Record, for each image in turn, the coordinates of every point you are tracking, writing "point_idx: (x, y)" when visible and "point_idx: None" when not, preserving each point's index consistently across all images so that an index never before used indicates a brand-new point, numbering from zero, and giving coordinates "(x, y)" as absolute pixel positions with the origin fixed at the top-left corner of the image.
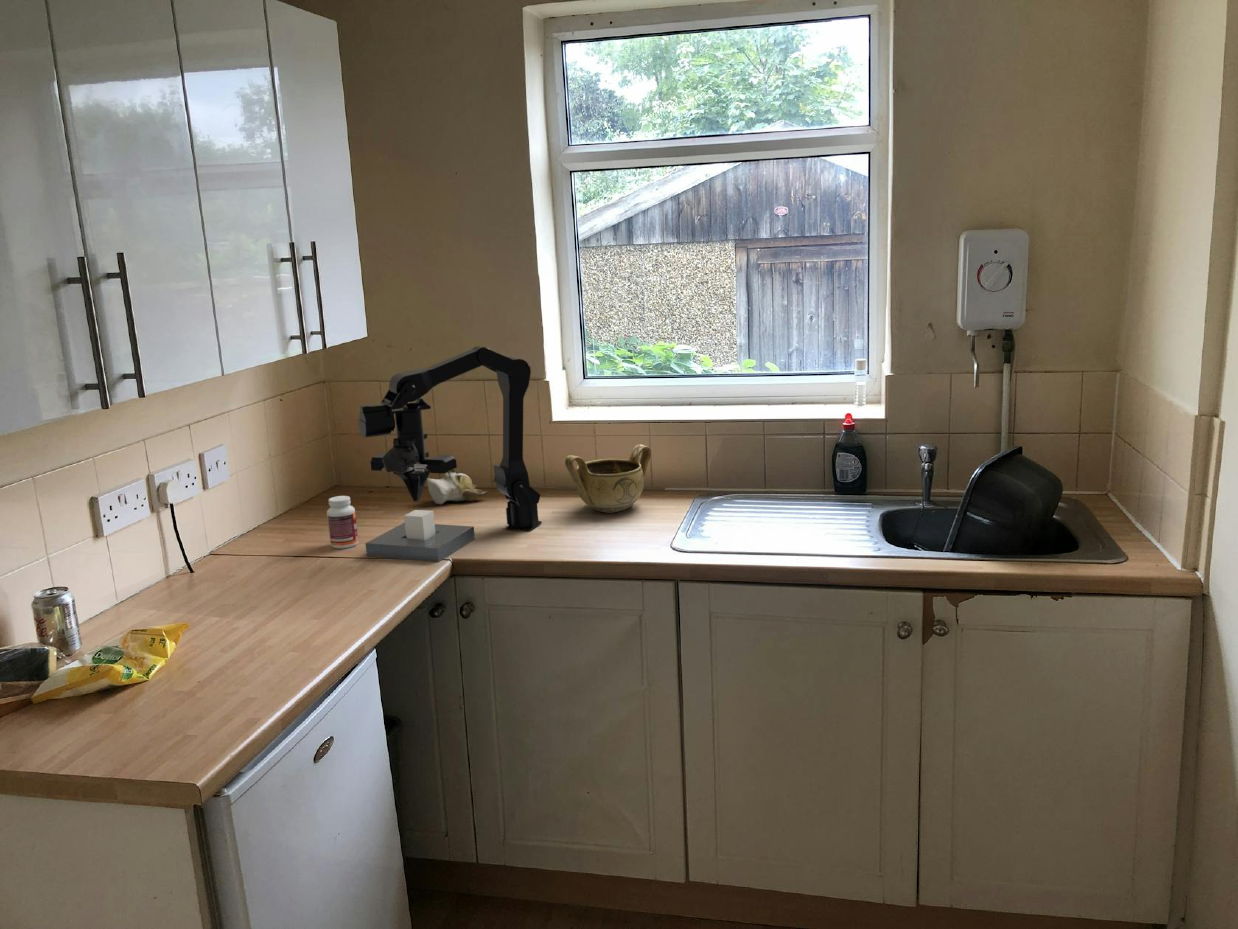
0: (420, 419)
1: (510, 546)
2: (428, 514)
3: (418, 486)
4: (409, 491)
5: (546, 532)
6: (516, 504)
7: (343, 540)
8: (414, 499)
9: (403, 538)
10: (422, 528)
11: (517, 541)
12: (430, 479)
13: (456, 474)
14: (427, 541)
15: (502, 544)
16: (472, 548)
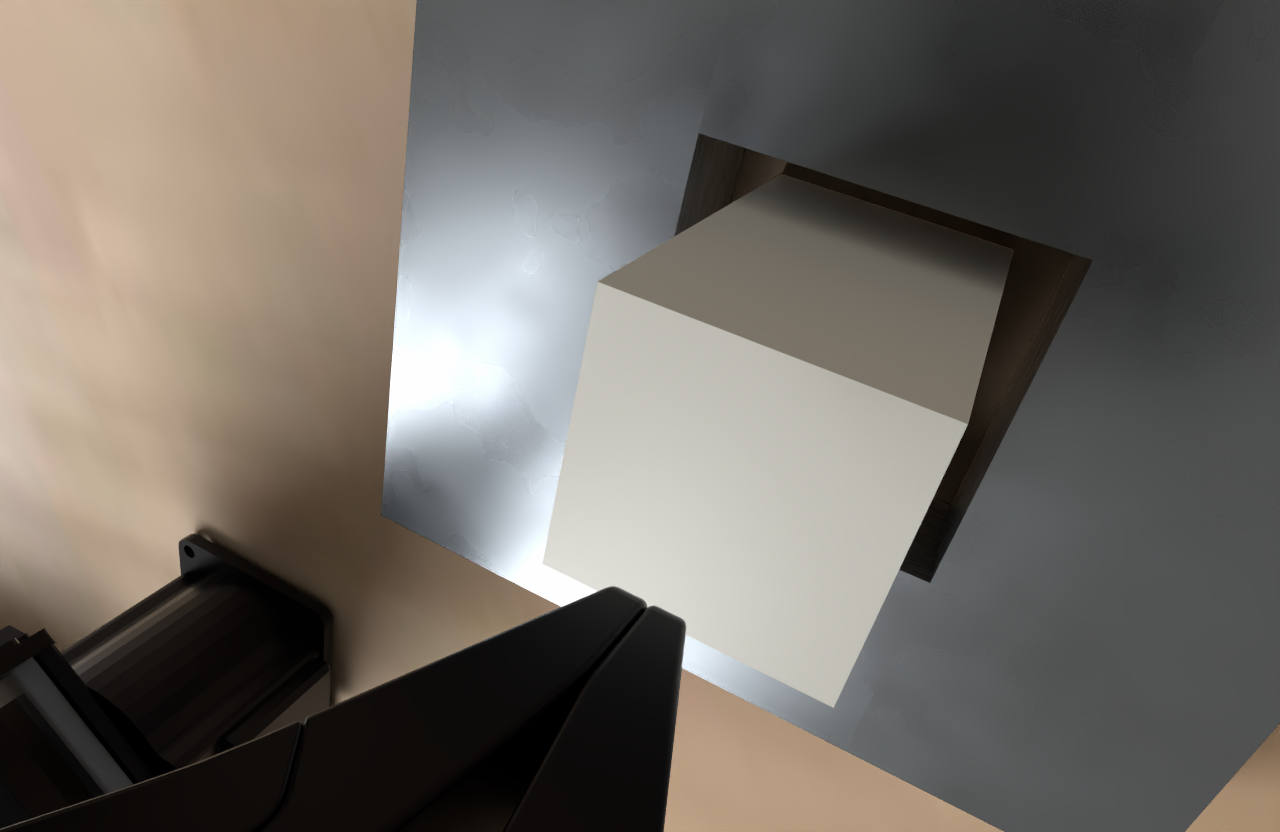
0: None
1: (167, 237)
2: (573, 444)
3: (249, 765)
4: (650, 802)
5: (115, 490)
6: (96, 692)
7: None
8: (641, 622)
9: (1037, 237)
10: (695, 236)
11: (176, 346)
12: None
13: None
14: (655, 57)
15: (232, 295)
16: (389, 224)
